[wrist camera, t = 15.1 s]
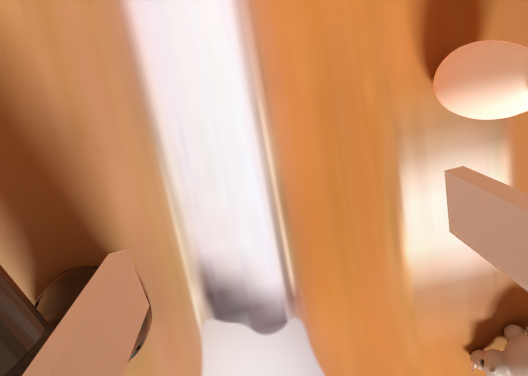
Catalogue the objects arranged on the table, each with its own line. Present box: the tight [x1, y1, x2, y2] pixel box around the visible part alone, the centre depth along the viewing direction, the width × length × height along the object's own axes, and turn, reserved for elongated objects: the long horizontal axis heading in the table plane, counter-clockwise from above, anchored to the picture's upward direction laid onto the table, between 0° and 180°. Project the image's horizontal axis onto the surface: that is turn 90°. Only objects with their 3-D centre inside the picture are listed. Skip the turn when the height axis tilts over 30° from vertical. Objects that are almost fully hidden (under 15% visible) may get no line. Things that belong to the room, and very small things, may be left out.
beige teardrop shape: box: [433, 40, 528, 120], centre depth 36 cm, size 8×8×18 cm
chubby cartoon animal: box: [470, 324, 528, 376], centre depth 54 cm, size 7×12×8 cm, turn 116°
